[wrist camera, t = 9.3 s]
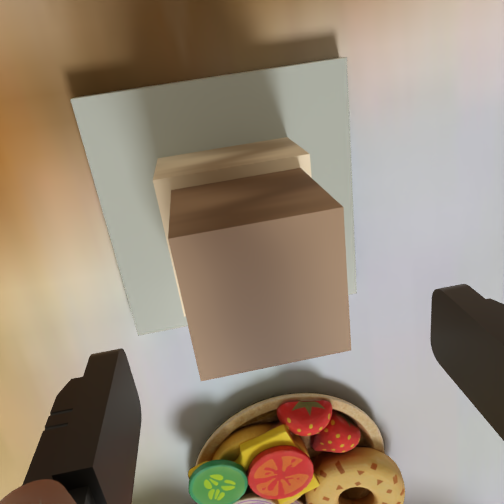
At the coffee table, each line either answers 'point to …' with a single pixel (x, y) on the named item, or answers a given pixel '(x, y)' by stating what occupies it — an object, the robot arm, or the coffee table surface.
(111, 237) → the board
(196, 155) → the beech block
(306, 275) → the walnut cube
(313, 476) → the toy food set
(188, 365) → the coffee table surface
